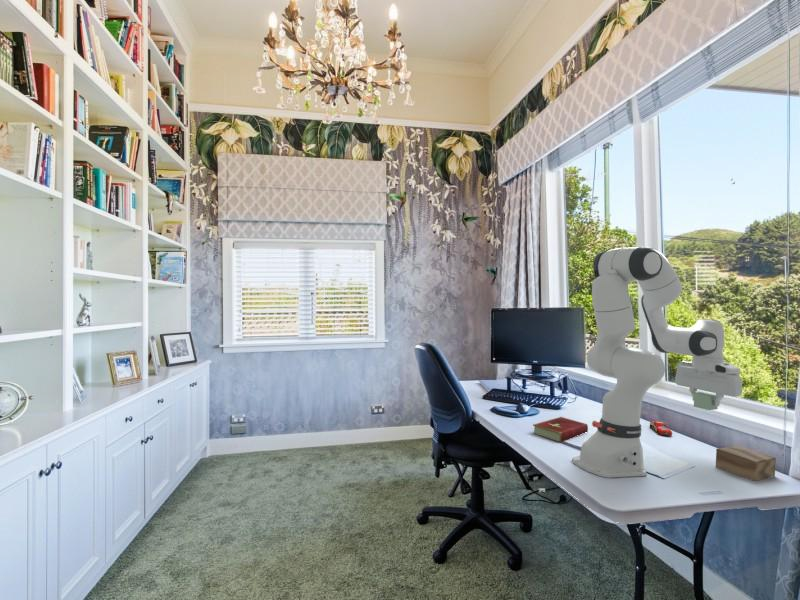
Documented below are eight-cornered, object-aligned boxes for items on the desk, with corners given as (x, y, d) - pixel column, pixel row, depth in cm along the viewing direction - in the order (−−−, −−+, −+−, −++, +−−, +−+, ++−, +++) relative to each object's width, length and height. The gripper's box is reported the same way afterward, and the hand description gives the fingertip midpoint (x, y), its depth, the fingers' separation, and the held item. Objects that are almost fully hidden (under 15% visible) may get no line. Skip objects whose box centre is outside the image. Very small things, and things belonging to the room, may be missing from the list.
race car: (673, 438, 164) (674, 428, 164) (658, 436, 166) (659, 427, 166) (662, 428, 177) (662, 419, 177) (648, 427, 178) (648, 417, 178)
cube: (708, 410, 141) (709, 395, 141) (693, 406, 145) (694, 392, 145) (717, 409, 143) (718, 395, 143) (702, 405, 147) (702, 391, 147)
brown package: (754, 480, 125) (755, 461, 125) (715, 466, 135) (716, 448, 135) (774, 476, 129) (775, 457, 129) (735, 462, 140) (736, 445, 139)
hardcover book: (587, 433, 166) (588, 423, 166) (560, 443, 153) (561, 432, 153) (560, 425, 175) (560, 416, 175) (532, 434, 162) (533, 423, 162)
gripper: (672, 360, 152) (670, 396, 152) (735, 370, 133) (733, 411, 133) (682, 359, 155) (681, 395, 155) (745, 369, 136) (744, 410, 136)
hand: (705, 403), depth 144 cm, fingers closed on cube, 5 cm apart
